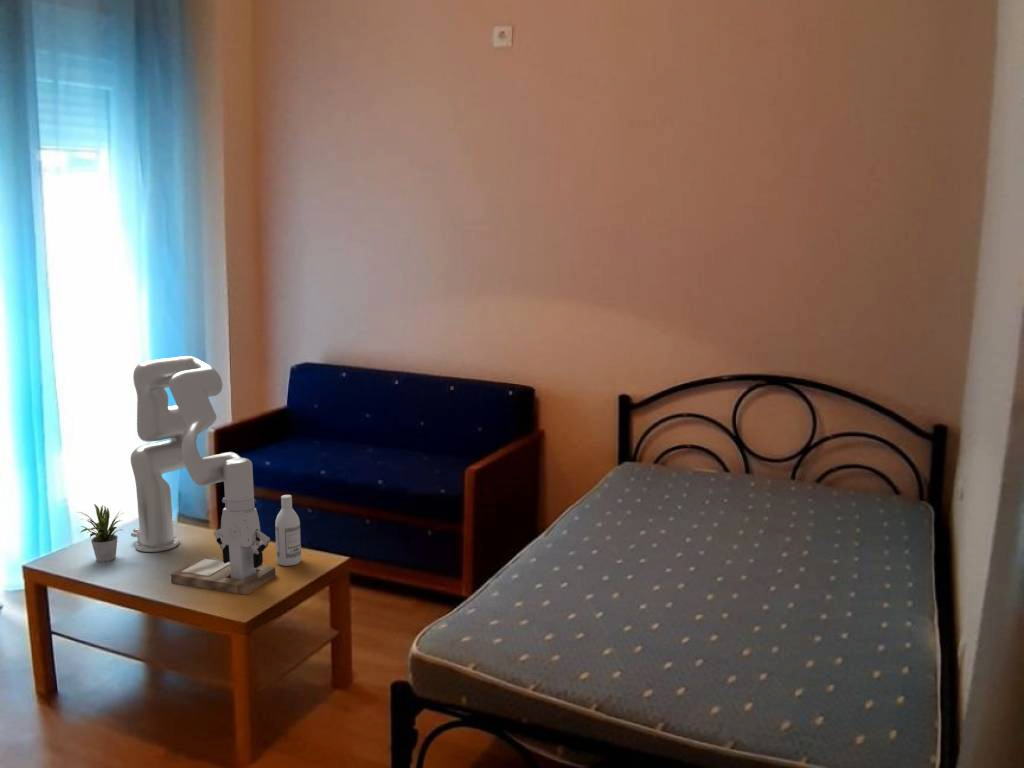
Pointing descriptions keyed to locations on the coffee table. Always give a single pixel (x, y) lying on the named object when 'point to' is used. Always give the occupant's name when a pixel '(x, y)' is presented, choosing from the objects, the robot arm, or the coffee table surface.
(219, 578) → the walnut frame
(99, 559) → the house plant
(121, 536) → the coffee table surface
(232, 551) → the skincare box
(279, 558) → the bath foam
